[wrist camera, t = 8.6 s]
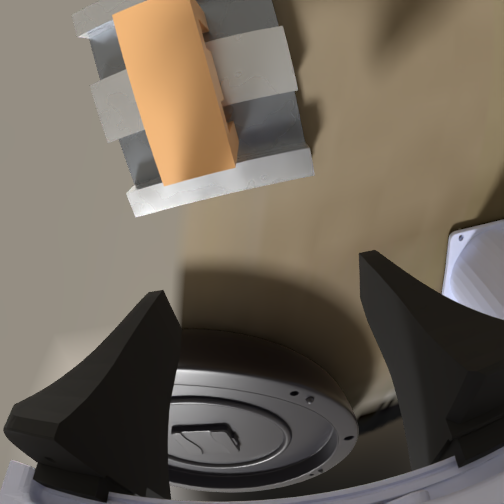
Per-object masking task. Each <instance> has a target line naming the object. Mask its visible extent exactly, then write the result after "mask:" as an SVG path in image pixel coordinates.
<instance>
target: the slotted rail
mask: <svg viewBox="0 0 504 504" xmlns="http://www.w3.org/2000/svg"><path fill="white" fill-rule="evenodd" d="M144 1H147V0H99V1H97V2H95V3H93V4H91V5H89V6H87V7H85V8H83V9H81V10H80V11H78V12H76V13H74V14H72V18H73V22H74V27H75V31H76V35H77V37H81V38H88V39H90V43H91V47H92V51H93V55H94V59H95V62H96V66H97V70H98V73H99V77H100V81H98V82H96V83H94V84H91V85H90V87H91V91H92V94H93V98H94V101H95V105H96V108H97V111H98V114H99V117H100V121H101V124H102V127H103V130H104V133H105V136H106V139H107V142H108V143H109V142H112V141H114V140H117V139H119V141H120V144H121V147H122V150H123V153H124V156H125V159H126V162H127V165H128V167H129V170H130V173H131V176H132V178H133V181H134V186H133V187H132V188H131V189H130V190H129V191H128V192H127V193H126V194H127V197H128V199H129V202H130V204H131V207H132V209H133V212H134V214H135V217H139V216H142V215H146V214H149V213H153V212H157V211H161V210H165V209H168V208H172V207H176V206H180V205H184V204H188V203H192V202H196V201H200V200H204V199H208V198H212V197H216V196H221V195H225V194H229V193H233V192H238V191H242V190H247V189H251V188H256V187H260V186H265V185H269V184H274V183H279V182H284V181H289V180H294V179H298V178H304V177H309V176H314V175H315V174H314V168H313V162H312V157H311V151H310V147H309V146H308V145H307V144H306V143H305V140H304V135H303V129H302V124H301V120H300V115H299V110H298V105H297V100H296V96H295V91H298V87H297V82H296V78H295V73H294V69H293V65H292V61H291V56H290V52H289V48H288V44H287V40H286V36H285V32H284V28H283V26H279V25H278V21H277V18H276V14H275V10H274V7H273V3H272V0H196V2H197V3H198V4H199V6H200V7H201V9H202V10H203V11H204V14H205V17H206V21H207V25H208V28H209V32H205V33H202V34H203V38H204V42H205V45H206V48H207V49H208V50H210V51H211V53H212V57H213V61H214V64H215V68H216V72H217V75H218V79H219V83H220V86H221V90H222V94H223V97H224V99H223V100H222V101H221V104H222V107H223V111H224V115H225V119H226V122H231V121H234V124H235V128H236V132H237V136H238V140H239V146H238V153H237V161H236V168H232V169H228V170H224V171H220V172H216V173H212V174H208V175H204V176H201V177H197V178H193V179H189V180H186V181H182V182H178V183H175V184H171V185H168V186H164V185H163V182H162V180H161V177H160V174H159V171H158V168H157V165H156V162H155V159H154V156H153V153H152V150H151V147H150V144H149V141H148V138H147V135H146V132H145V129H144V126H143V122H142V119H141V116H140V113H139V110H138V106H137V103H136V100H135V97H134V93H133V90H132V87H131V83H130V80H129V76H128V73H127V69H126V66H125V62H124V59H123V55H122V52H121V48H120V44H119V41H118V37H117V33H116V29H115V25H114V21H113V17H112V15H113V14H115V13H118V12H120V11H122V10H125V9H127V8H129V7H132V6H134V5H137V4H139V3H142V2H144Z"/></svg>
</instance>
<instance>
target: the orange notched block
mask: <svg viewBox="0 0 504 504" xmlns="http://www.w3.org/2000/svg"><path fill="white" fill-rule="evenodd" d="M112 17H113V21H114V25H115V29H116V33H117V37H118V41H119V44H120V48H121V52H122V55H123V59H124V62H125V66H126V69H127V73H128V76H129V80H130V83H131V87H132V90H133V93H134V97H135V100H136V103H137V106H138V110H139V113H140V116H141V119H142V122H143V126H144V129H145V132H146V135H147V138H148V141H149V144H150V147H151V150H152V153H153V156H154V159H155V162H156V165H157V168H158V171H159V174H160V177H161V180H162V182H163V185H164V186H168V185H171V184H175V183H178V182H182V181H186V180H189V179H193V178H197V177H201V176H204V175H208V174H212V173H216V172H220V171H224V170H228V169H232V168H236V161H237V153H238V146H239V140H238V136H237V132H236V128H235V124H234V121H231V122H226V119H225V115H224V111H223V107H222V104H221V101H222V100H223V99H224V97H223V94H222V90H221V86H220V83H219V79H218V75H217V72H216V68H215V64H214V61H213V57H212V53H211V51H210V50H208V49H207V48H206V45H205V42H204V38H203V34H202V33H205V32H209V28H208V25H207V21H206V17H205V14H204V11H203V10H202V9H201V7H200V6H199V4H198V3H197V2H196V0H147V1H144V2H142V3H139V4H137V5H134V6H132V7H129V8H127V9H125V10H122V11H120V12H118V13H115V14H113V15H112Z"/></svg>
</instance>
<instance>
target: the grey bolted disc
mask: <svg viewBox="0 0 504 504" xmlns="http://www.w3.org/2000/svg"><path fill="white" fill-rule="evenodd" d="M357 438H358V424H357V420H356V417H355V414H354V412H353V410H352V408H351V406H350V404H349V402H348V400H347V398H346V396H345V394H344V393H343V391H342V389H341V388H340V386H339V385H338V384H337V383H336V381H335V380H334V379H333V378H332V377H331V376H330V375H329V374H328V373H327V372H326V371H325V370H324V369H323V368H322V367H320V366H319V365H318V364H316V363H315V362H313V361H311V360H310V359H308V358H306V357H305V356H303V355H301V354H299V353H297V352H295V351H293V350H291V349H289V348H286V347H284V346H282V345H279V344H276V343H273V342H271V341H267V340H264V339H261V338H257V337H253V336H248V335H244V334H239V333H233V332H226V331H218V330H206V329H182V336H181V351H180V357H179V362H178V367H177V372H176V377H175V382H174V387H173V392H172V397H171V403H170V410H169V425H168V471H169V484H170V485H171V486H176V487H180V488H186V489H193V490H200V491H211V492H249V491H260V490H267V489H273V488H278V487H283V486H287V485H291V484H295V483H298V482H301V481H304V480H307V479H310V478H312V477H315V476H317V475H319V474H321V473H323V472H325V471H327V470H328V469H330V468H331V467H333V466H335V465H336V464H338V463H339V462H340V461H341V460H343V459H344V458H345V457H346V456H347V455H348V454H349V453H350V451H351V450H352V449H353V447H354V445H355V444H356V441H357Z"/></svg>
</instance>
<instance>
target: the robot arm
mask: <svg viewBox="0 0 504 504" xmlns="http://www.w3.org/2000/svg"><path fill="white" fill-rule="evenodd" d="M460 235H461V237H460V238H459V236H460ZM359 269H360V298H361V302H362V305H363V308H364V311H365V315H366V318H367V321H368V323H369V325H370V328H371V330H372V332H373V334H374V337H375V339H376V341H377V343H378V346H379V348H380V350H381V352H382V355H383V357H384V359H385V362H386V364H387V366H388V369H389V372H390V374H391V377H392V380H393V384H394V387H395V391H396V395H397V398H398V402H399V406H400V411H401V415H402V419H403V424H404V429H405V434H406V439H407V444H408V450H409V457H410V464H411V472H408V473H405V474H402V475H399V476H395V477H392V478H388V479H385V480H382V481H377V482H374V483H369V484H365V485H361V486H356V487H352V488H348V489H342V490H337V491H333V492H326V493H321V494H315V495H307V496H300V497H292V498H283V499H271V500H258V501H234V502H204V501H181V500H180V501H179V500H171V494H170V484H169V471H168V425H169V410H170V403H171V397H172V392H173V387H174V382H175V377H176V372H177V367H178V362H179V357H180V351H181V336H182V328H181V326H180V324H179V322H178V320H177V318H176V316H175V314H174V312H173V310H172V308H171V306H170V303H169V301H168V299H167V297H166V295H165V293H164V291H163V290H161V291H154V292H149V293H148V294H147V295H146V296H145V297H144V298H143V299H142V300H141V301H140V302H139V303H138V304H137V305H136V306H135V307H134V308H133V310H132V311H131V312H130V313H129V314H128V315H127V316H126V317H125V319H124V320H123V321H122V322H121V323H120V324H119V325H118V326H117V327H116V328H115V330H114V331H113V332H112V333H111V334H110V335H109V336H108V337H107V338H106V339H105V340H104V341H103V342H102V343H101V344H100V345H99V346H98V347H97V348H96V349H95V350H94V351H93V352H92V353H91V354H90V355H89V356H87V357H86V358H85V359H84V360H83V361H82V362H81V363H79V364H78V365H77V366H76V367H74V368H73V369H72V370H71V371H69V372H68V373H67V374H65V375H64V376H63V377H61V378H60V379H58V380H57V381H55V382H54V383H53V384H51V385H50V386H48V387H46V388H45V389H43V390H42V391H40V392H38V393H36V394H34V395H33V396H31V397H28V398H27V399H25V400H23V401H21V402H19V403H16V404H15V405H14V406H13V408H12V411H11V413H10V415H9V417H8V419H7V422H6V424H5V426H4V433H5V435H6V437H7V438H8V439H9V440H10V441H11V442H12V443H13V444H14V445H15V446H16V447H18V448H19V449H20V450H21V451H23V452H24V453H25V454H27V455H28V456H29V457H31V458H32V459H33V460H35V461H36V462H38V464H37V467H36V469H35V468H33V467H31V466H29V465H26V464H24V463H21V462H18V461H15V460H11V461H10V463H9V466H8V469H7V472H6V475H5V478H4V481H3V484H2V487H1V491H0V504H504V219H503V220H499V221H495V222H491V223H486V224H482V225H478V226H474V227H470V228H466V229H461V230H457V231H454V232H452V233H451V234H450V236H449V240H448V250H447V259H446V267H445V275H444V282H443V288H442V294H440V293H438V292H437V291H435V290H433V289H431V288H430V287H428V286H427V285H425V284H423V283H422V282H420V281H419V280H417V279H415V278H414V277H412V276H411V275H410V274H408V273H407V272H405V271H404V270H402V269H401V268H400V267H398V266H397V265H395V264H394V263H393V262H391V261H390V260H388V259H387V258H386V257H384V256H383V255H382V254H380V253H379V252H377V251H376V250H372V251H367V252H362V253H359Z"/></svg>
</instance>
